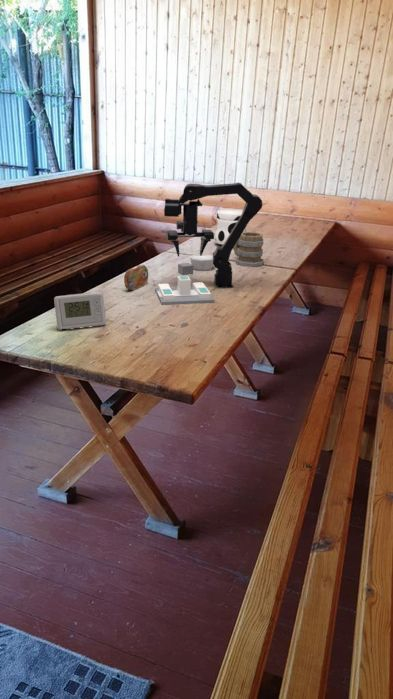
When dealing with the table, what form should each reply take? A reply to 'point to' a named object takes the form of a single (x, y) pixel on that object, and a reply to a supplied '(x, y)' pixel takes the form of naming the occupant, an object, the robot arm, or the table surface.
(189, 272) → the loose block
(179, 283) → the block
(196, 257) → the ramekin
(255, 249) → the tankard
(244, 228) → the robot arm
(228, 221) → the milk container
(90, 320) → the digital clock
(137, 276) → the tin
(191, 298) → the rail board
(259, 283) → the table surface
